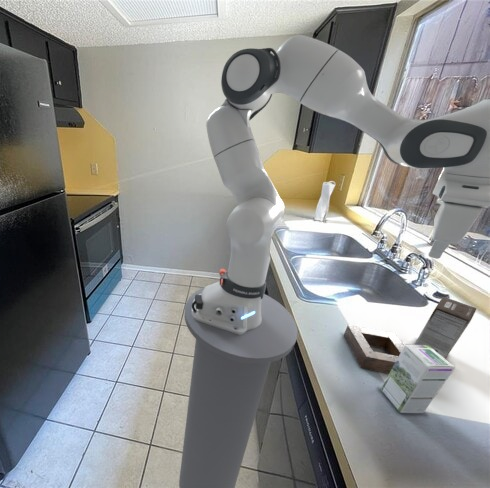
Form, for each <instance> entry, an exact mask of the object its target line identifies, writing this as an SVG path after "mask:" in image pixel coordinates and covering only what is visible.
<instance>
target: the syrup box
mask: <svg viewBox="0 0 490 488" xmlns="http://www.w3.org/2000/svg"><path fill="white" fill-rule="evenodd" d="M455 368H456V367H455V365H454V364H452V363H451V362H450V361H448V360H447V359H446V358H443V357H442V356H441V355H440V354H438V353H437V352H436V351H435V350H434V349H432V348H431V347H430V346H427V345H414V344H404V348H403V350H402V351H401V353H400V355H399V357H398V359H397V361H396V362H395V364H394V366H393V368H392V370H391V371H390V373H389V374H387V377H386V379H385V381H384V383H383V384H382V386H381V388H380V391H381V392H382V394H383V395H384V396H385V397H386V398H387V399H388V400H389V402H390V403H391V404H392V405H393V406H394V408H395V409H396V411H398V413H399V414H424V413H426V411H427V409H428V407H429V406H430V404H431V403H432V401H433V400H434V398H435V397H436V395H437V394H438V392H440V390H441V389H442V387H443V386H444V384H445V383H446V381H447V380H448V379H449V377H450V376H451V374H452V373H453V371H454V370H455Z"/></svg>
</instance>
